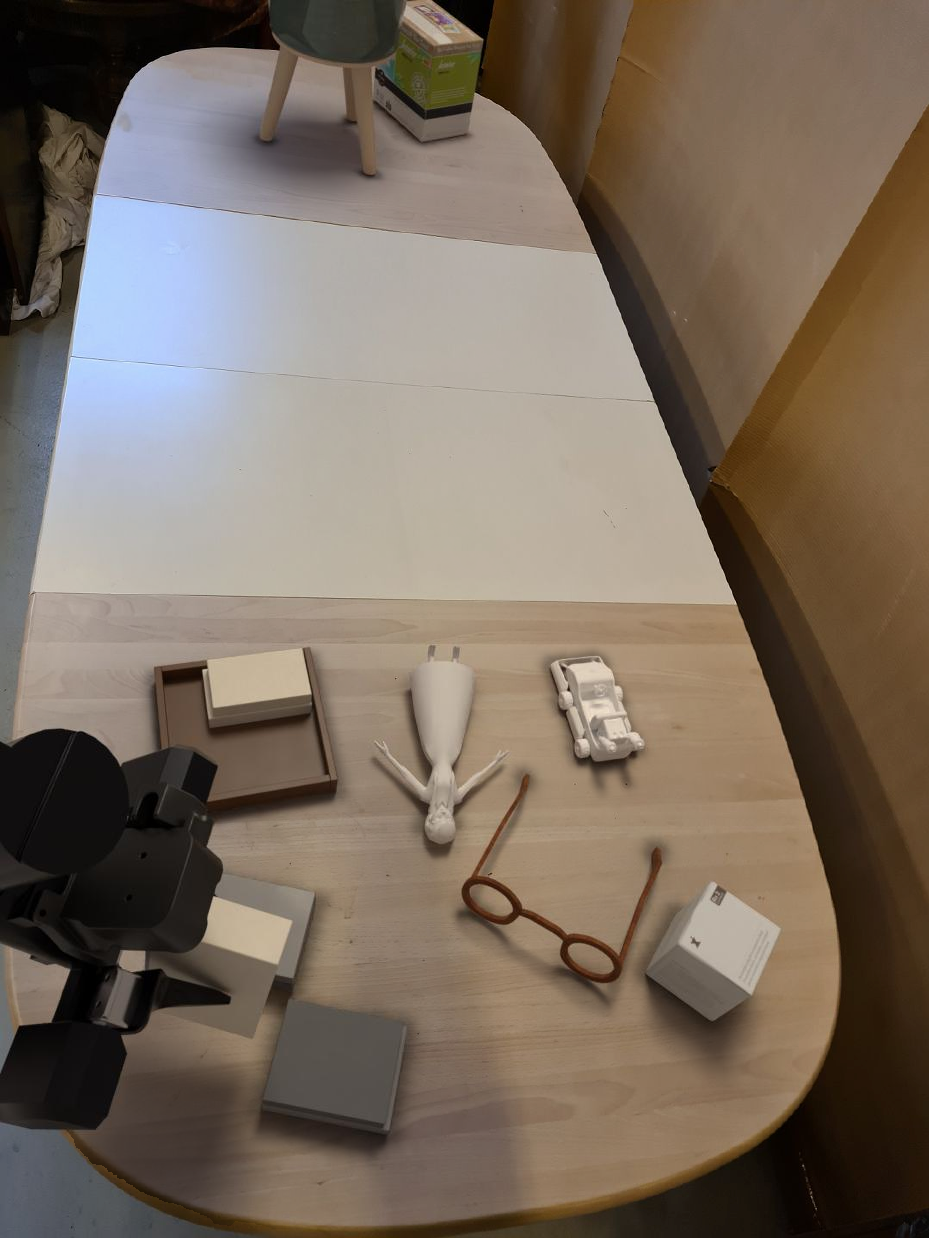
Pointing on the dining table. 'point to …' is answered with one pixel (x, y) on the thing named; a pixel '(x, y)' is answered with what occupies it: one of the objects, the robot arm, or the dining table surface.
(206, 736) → the book tray
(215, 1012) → the white book
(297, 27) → the planter
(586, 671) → the toy car
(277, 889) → the grey book stack left
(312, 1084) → the dark grey book stack
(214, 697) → the white book stack
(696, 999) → the white cardboard box
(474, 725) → the dining table surface
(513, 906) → the glasses
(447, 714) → the woman figurine
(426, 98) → the tea box
